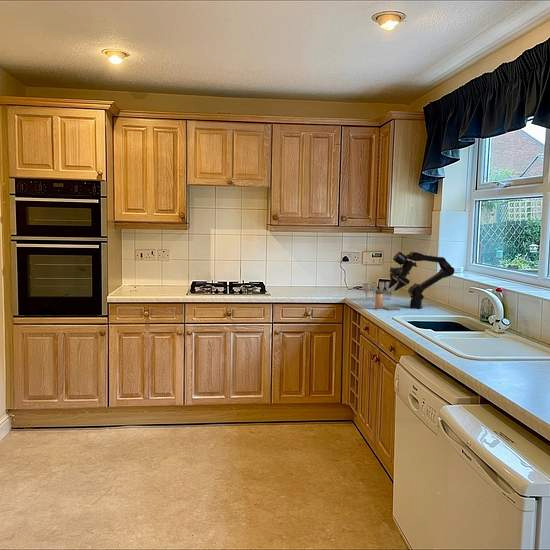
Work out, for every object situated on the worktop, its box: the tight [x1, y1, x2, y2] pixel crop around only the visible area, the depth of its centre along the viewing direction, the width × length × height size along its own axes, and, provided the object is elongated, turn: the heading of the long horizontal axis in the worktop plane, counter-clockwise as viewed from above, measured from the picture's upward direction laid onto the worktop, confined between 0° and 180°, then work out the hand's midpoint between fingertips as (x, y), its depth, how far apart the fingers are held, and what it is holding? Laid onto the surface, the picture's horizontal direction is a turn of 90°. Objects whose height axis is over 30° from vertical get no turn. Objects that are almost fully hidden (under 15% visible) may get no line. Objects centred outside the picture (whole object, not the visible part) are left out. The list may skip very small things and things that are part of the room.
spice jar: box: [374, 289, 384, 310], centre depth 331 cm, size 5×5×12 cm
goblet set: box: [362, 281, 400, 302], centre depth 365 cm, size 28×6×13 cm, turn 106°
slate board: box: [382, 305, 401, 311], centre depth 334 cm, size 8×12×1 cm, turn 13°
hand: (392, 289), depth 334 cm, fingers open, 9 cm apart
